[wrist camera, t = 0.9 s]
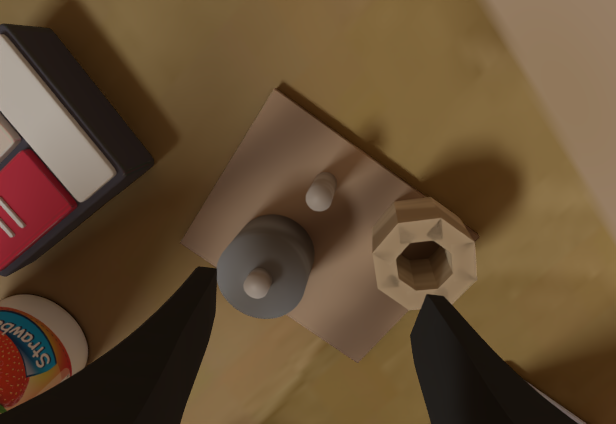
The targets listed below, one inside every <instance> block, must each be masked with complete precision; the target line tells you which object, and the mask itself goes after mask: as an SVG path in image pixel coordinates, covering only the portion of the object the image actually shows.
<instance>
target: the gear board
mask: <svg viewBox="0 0 616 424" xmlns="http://www.w3.org/2000/svg"><path fill="white" fill-rule="evenodd" d="M425 197H426V196H425V195H423V194H422V193H420V192H419V191H418V190H416V189H415V188H413V187H412V186H411V185H409V184H408V183H406V182H405V181H404V180H402V179H401V178H400V177H398V176H397V175H395V174H394V173H393V172H391V171H390V170H388V169H387V168H386V167H384V166H383V165H382V164H380V163H379V162H377V161H376V160H375V159H373V158H372V157H370V156H369V155H368V154H366V153H365V152H364V151H362V150H361V149H359V148H358V147H357V146H355V145H354V144H352V143H351V142H350V141H348V140H347V139H345V138H344V137H343V136H341V135H340V134H339V133H337V132H336V131H334V130H333V129H332V128H330V127H329V126H327V125H326V124H325V123H323V122H322V121H321V120H319V119H318V118H316V117H315V116H314V115H312V114H311V113H309V112H308V111H307V110H305V109H304V108H302V107H301V106H300V105H298V104H297V103H296V102H294V101H293V100H291V99H290V98H289V97H287V96H286V95H284V94H283V93H282V92H280V91H279V90H278V89H273V91H272V93H271V94H270V96H269V97H268V99H267V101H266V102H265V104H264V106H263V107H262V109H261V111H260V112H259V114H258V116H257V117H256V119H255V120H254V122H253V124H252V125H251V127H250V129H249V130H248V132H247V134H246V135H245V137H244V138H243V140H242V142H241V143H240V145H239V147H238V148H237V150H236V152H235V153H234V155H233V157H232V158H231V160H230V161H229V163H228V165H227V166H226V168H225V170H224V171H223V173H222V175H221V176H220V178H219V179H218V181H217V183H216V184H215V186H214V188H213V189H212V191H211V193H210V194H209V196H208V198H207V199H206V201H205V202H204V204H203V206H202V207H201V209H200V211H199V212H198V214H197V216H196V217H195V219H194V221H193V222H192V224H191V225H190V227H189V229H188V230H187V232H186V234H185V235H184V237H183V239H182V240H181V242H180V243H181V244H182V245H184V246H185V247H187V248H188V249H190V250H191V251H193V252H194V253H196V254H197V255H199V256H200V257H202V258H203V259H205V260H206V261H207V262H209V263H210V264H212V265H213V266H215V267H216V268H217V282H218V286H219V288H220V290H221V292H222V294H223V296H224V297H225V299H226V300H227V301H228V302H229V303H230V304H231V305H232V306H233V307H234V308H236V309H237V310H239V311H240V312H242V313H244V314H246V315H249V316H252V317H256V318H262V319H271V318H277V317H281V316H283V315H285V314H286V315H287V316H289V317H290V318H292V319H293V320H295V321H296V322H298V323H299V324H301V325H302V326H304V327H305V328H306V329H308V330H309V331H311V332H312V333H314V334H315V335H317V336H318V337H320V338H321V339H323V340H324V341H326V342H327V343H329V344H330V345H332V346H333V347H335V348H336V349H338V350H339V351H340V352H342V353H343V354H345V355H346V356H348V357H349V358H351V359H352V360H354V361H355V362H357V363H358V362H359V361H360V360H361V359H362V358H363V357H364V356H365V355H366V354H367V353H368V352H369V351H370V350H371V349H372V348H373V347H374V346H375V345H376V344H377V343H378V341H379V340H380V339H381V338H382V337H383V336H384V335H385V334H386V333H387V332H388V331H389V330H390V329H391V328H392V327H393V326H394V325H395V324H396V323H397V322H398V321H399V320H400V319H401V318H402V317H403V316H404V315H405V314H406V313H407V311H408V309H407V308H405V307H404V306H402V305H401V304H399V303H398V302H396V301H395V300H394V299H392V298H391V297H389V296H388V295H386V294H385V293H384V292H382V291H381V290H379V289H378V287H377V280H376V274H375V267H374V260H373V254H372V228H373V226H374V225H375V224H376V223H377V221H378V220H379V219H380V218H381V217H382V215H383V214H384V213H385V212H386V211H387V209H388V208H389V207H390V206H391V205H392V203H393V202H395V201H402V200H410V199H417V198H425ZM464 226H465V227H466V229H467V231H468V232H469V234H470V235H471V237H472V239H473V240H474V242H475V241H476V240H477V239H478V238H479V235H478V234H477V233H476V232H474V231H473V230H472V229H470V228H469V227H468V226H466V225H465V224H464ZM439 247H440V245H439V244H438V243H436V242H435V241H424V242H415V243H410V244H409V245H408V246H407V247H406V248H405V249H404V250H403V252H402V253H401V255H402V256H404V257H405V258H407V259H408V260H419V259H428V258H429V257H430V256H431V255H432V254H433V253H434V252H435V251H436V250H437V249H438V248H439Z"/></svg>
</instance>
